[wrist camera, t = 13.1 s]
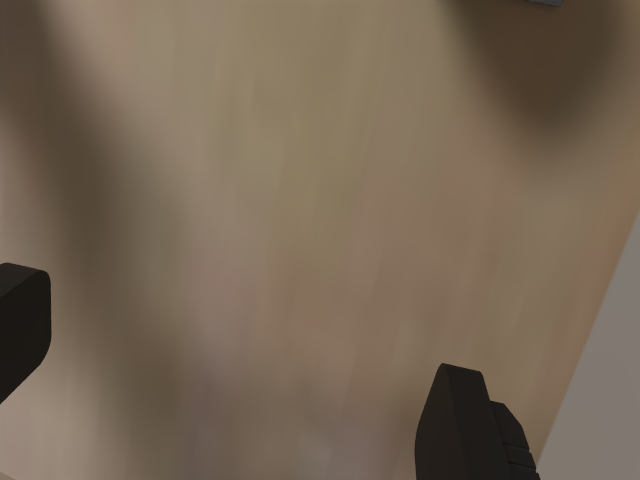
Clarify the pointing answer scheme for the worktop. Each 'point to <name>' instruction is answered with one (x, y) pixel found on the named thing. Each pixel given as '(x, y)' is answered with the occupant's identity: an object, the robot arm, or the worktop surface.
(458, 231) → the worktop surface
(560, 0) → the mat
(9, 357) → the robot arm
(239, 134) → the worktop surface
